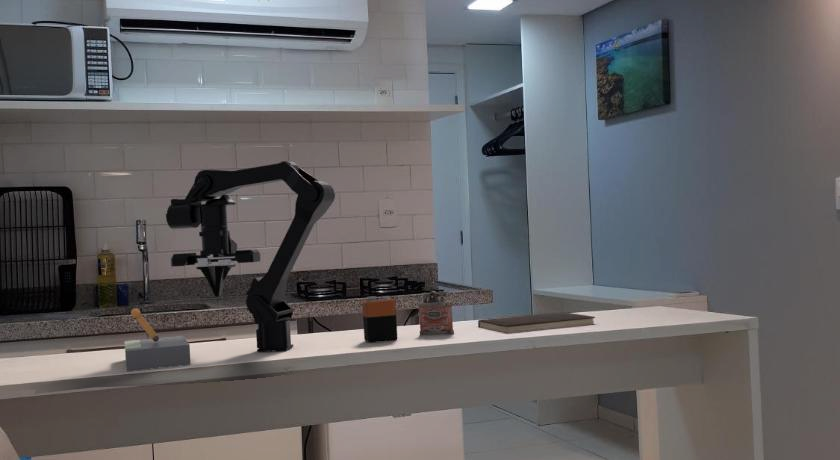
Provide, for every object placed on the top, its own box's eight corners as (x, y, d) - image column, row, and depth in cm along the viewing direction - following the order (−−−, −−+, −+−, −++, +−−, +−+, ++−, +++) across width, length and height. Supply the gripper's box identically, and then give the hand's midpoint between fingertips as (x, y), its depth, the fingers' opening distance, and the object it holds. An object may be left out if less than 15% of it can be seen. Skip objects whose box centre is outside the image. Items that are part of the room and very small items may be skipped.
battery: (363, 341, 181) (361, 296, 181) (392, 338, 183) (390, 294, 183) (368, 343, 177) (366, 298, 177) (398, 340, 179) (395, 295, 179)
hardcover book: (595, 326, 188) (594, 316, 188) (506, 335, 181) (506, 325, 181) (561, 320, 203) (560, 311, 203) (478, 329, 196) (477, 319, 196)
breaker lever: (160, 336, 168) (136, 306, 167) (161, 338, 165) (137, 307, 163) (153, 342, 168) (129, 312, 166) (154, 343, 164) (129, 313, 163)
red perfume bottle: (418, 335, 185) (415, 292, 185) (421, 333, 188) (419, 291, 188) (452, 334, 183) (449, 291, 183) (455, 332, 187) (452, 290, 187)
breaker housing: (183, 353, 177) (182, 334, 177) (190, 364, 160) (189, 343, 160) (125, 359, 172) (124, 340, 172) (126, 371, 155) (125, 349, 156)
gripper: (265, 224, 185) (269, 292, 185) (188, 229, 187) (191, 296, 187) (250, 224, 174) (254, 296, 174) (168, 229, 176) (171, 300, 176)
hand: (218, 296), depth 178 cm, fingers closed
